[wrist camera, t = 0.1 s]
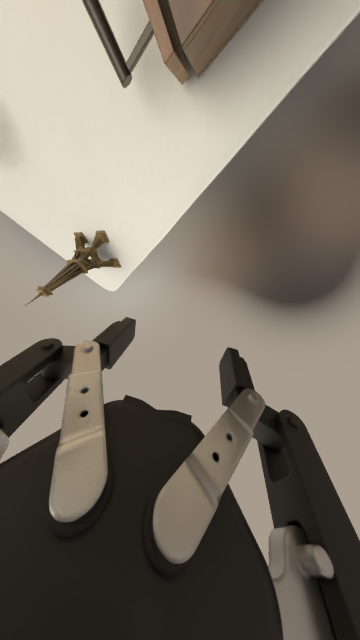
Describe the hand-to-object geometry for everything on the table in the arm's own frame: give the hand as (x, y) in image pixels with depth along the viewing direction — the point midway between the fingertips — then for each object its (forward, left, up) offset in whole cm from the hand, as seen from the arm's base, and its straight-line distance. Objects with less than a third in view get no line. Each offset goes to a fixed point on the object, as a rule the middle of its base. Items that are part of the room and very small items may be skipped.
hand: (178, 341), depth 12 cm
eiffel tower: (-9, -34, -32) cm, 47 cm away
